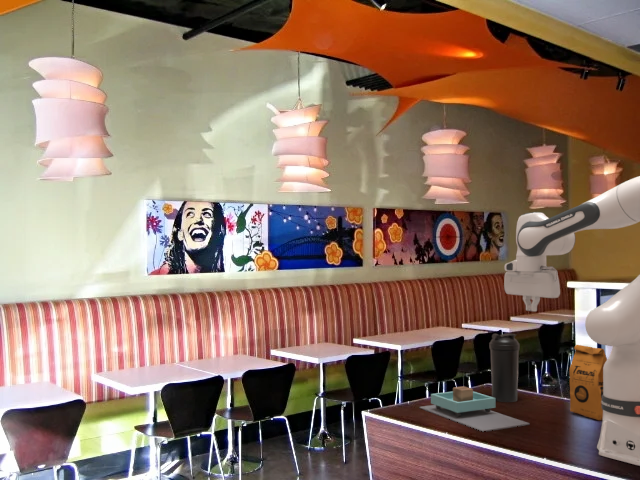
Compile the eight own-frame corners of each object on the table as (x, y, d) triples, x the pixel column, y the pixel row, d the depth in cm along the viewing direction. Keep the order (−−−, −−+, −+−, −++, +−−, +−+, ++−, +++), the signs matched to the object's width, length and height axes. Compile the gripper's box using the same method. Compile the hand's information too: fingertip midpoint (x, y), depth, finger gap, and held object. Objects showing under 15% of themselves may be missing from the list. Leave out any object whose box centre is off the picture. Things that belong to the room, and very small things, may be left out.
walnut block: (472, 403, 214) (472, 389, 214) (461, 404, 212) (461, 390, 212) (464, 400, 218) (464, 386, 218) (453, 401, 216) (452, 387, 216)
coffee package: (595, 422, 202) (595, 350, 203) (565, 413, 214) (564, 344, 214) (619, 418, 207) (618, 348, 207) (588, 410, 218) (587, 343, 218)
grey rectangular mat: (529, 424, 200) (529, 423, 200) (482, 432, 192) (482, 430, 192) (462, 402, 229) (462, 401, 229) (419, 408, 221) (419, 406, 221)
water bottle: (525, 402, 229) (524, 335, 229) (497, 403, 227) (496, 336, 228) (511, 395, 239) (511, 331, 239) (485, 396, 237) (484, 332, 238)
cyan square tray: (495, 412, 212) (495, 398, 212) (457, 418, 205) (457, 403, 205) (467, 403, 224) (467, 389, 224) (431, 408, 218) (430, 394, 218)
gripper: (565, 266, 194) (565, 313, 194) (516, 264, 213) (516, 307, 213) (548, 266, 192) (549, 314, 191) (500, 265, 210) (500, 308, 210)
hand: (531, 311), depth 202 cm, fingers closed
